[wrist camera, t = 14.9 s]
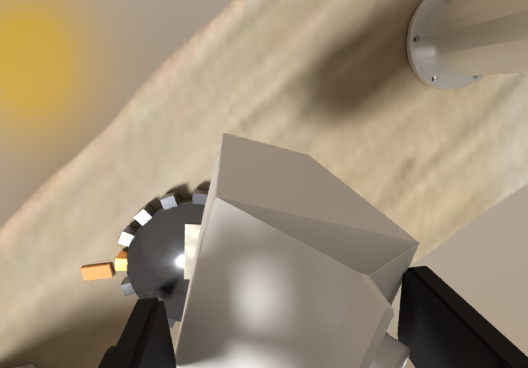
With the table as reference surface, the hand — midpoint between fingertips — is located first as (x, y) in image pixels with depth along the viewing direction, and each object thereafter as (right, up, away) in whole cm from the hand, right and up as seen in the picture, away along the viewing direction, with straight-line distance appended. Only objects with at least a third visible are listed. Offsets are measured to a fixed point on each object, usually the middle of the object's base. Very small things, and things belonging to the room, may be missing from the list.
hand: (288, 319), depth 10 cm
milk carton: (-2, +5, +15) cm, 15 cm away
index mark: (-25, -8, +33) cm, 42 cm away
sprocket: (-10, -6, +34) cm, 36 cm away
